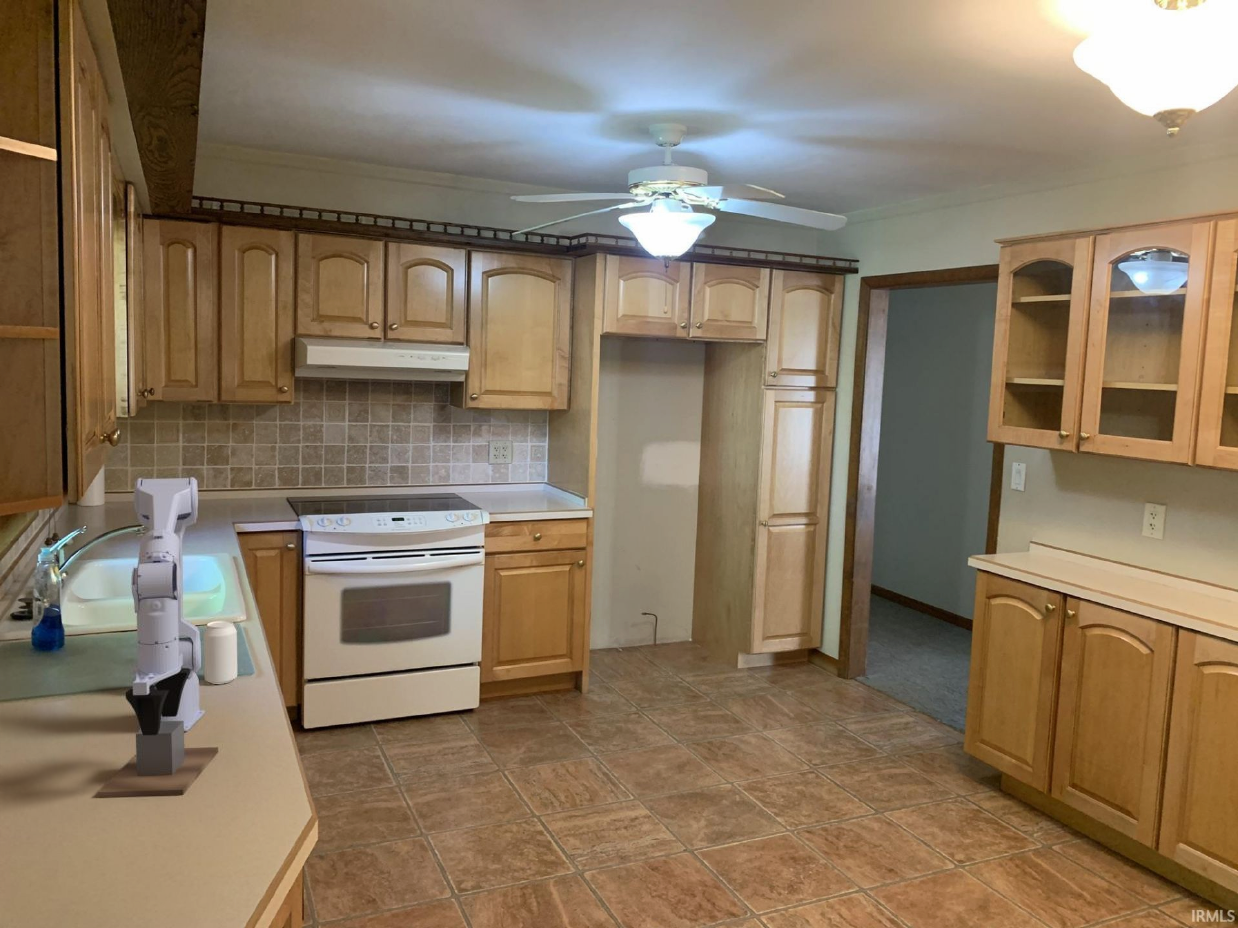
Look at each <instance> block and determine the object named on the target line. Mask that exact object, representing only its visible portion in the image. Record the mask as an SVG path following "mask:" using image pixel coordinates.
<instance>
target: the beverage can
mask: <svg viewBox="0 0 1238 928" xmlns="http://www.w3.org/2000/svg"><path fill="white" fill-rule="evenodd" d="M237 633H238V630H237V629H236V627H235V625H234V622H233V621H231V620H217V621H216V620H215V621H212V622H211V621H210V622H208V623H207V624H206V628H205V630H204V632H203V667H204V668H203V670H204V672H203V673H204V681H206V682H208V683H209V682H211V683H222V682H227V681H231V680H233V679H234V680H235V679H236V678H237V677H238V634H237ZM234 680H233V681H234Z"/></svg>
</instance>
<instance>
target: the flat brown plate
mask: <svg viewBox="0 0 1238 928" xmlns="http://www.w3.org/2000/svg"><path fill="white" fill-rule="evenodd" d="M218 753H219V747H218V746H216V747H215V746H213V747H211V746H210V747H184V755H185V761H184V762H183V764H182V765H181V766H180V767H179V768H178V769H177V770H176V771H175V773H174V774H173V775H150V776H137V760H136V754H135V755H134V756H133V757H132V758H131V759H130V760H129V761H128V762H127V763H126V764H125V765H124V766H123V767H121V769H119V771H118V772H117V773H116V774H115V775H114V776H112V778H111V779H109V780H108V781H107V782H106V784H104V785H103V786H102V788H100V789H99V790H98V791H97V798H115V797H116V798H117V797H118V798H120V797H153V796H154V797H155V796H183V795H184V794H185V793H186V792H187V791H188V789H189V788H190V787H191V786H192V785H193V784H194V782H195V781H196V780H197V779H198V777H199V776H200V775H201V774H202V772H203V771H204V770H205V769H206V767H207V766H208V765H209V764H210V762H211V761H212V760H213V759H214V758H215V756H217V754H218Z"/></svg>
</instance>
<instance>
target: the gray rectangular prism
mask: <svg viewBox="0 0 1238 928" xmlns="http://www.w3.org/2000/svg"><path fill="white" fill-rule="evenodd" d="M184 748H185V731H184V721H161V723H160V729H159V733H158V734H157V735H143V734H142V731H141V730H140V729H139V730H138V731H137V732H136V733H135V751H136V752H135V753H136V754H135V755H136V760H137V776H150V775H173V774H174V773H175V771H176V770H177V769H178V768H179V767H180V766H181V765H182V764H183V762H184V761H185V755H184Z"/></svg>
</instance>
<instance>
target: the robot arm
mask: <svg viewBox="0 0 1238 928" xmlns="http://www.w3.org/2000/svg"><path fill="white" fill-rule="evenodd" d="M133 487H134V488H133V503H134V511H135V512H136V516H137V520H138V521H139V523H140V525H141V526H144V527H147V528H148V529H149V531H148V532H146V533H145V534H144V535H143V536H142V537H141V539H140V545H139V550H138V551H139V552H138V559H137V566H136V567H135V566H134V567H132V572H131V594H132V598H133V603H134V605H133V606H134V608H133V609H134V613H135V614H136V637H137V639H136V641H137V642H136V643H137V665H134V666H132V667H131V668H130V669H129V673H130V674H132V675H133V674H134V675H135V680H134V681H133V682H132V688H129V689H128V690H127V691H126V692H125V699H126V701H127V702H128V703H129V705H130V706H131V707H132V709H133V712H134V713H135V715H136V718H137V722H138V725H139V728H140V729H139V731H140V730H141V731H142V734H143V735H157V734H158V733H159V729H160V723H161V721H184V732H188V731H189V730H190V729H191V728H192V727H193V726H194V724H196V722H198V721H199V720H200V719H201V718H202V716H203V715H205V714H206V710H205V709H200V681H199V677H198V675H197V673H198V671H199V670H200V669H201V667H202V646H201V645H202V644H201V643H202V642H201V633H200V630H199V629H198V628H199V627H198V626H196V625H195V624H193V623H191V622H189V621H188V620H186V619H185V618H184V594H183V593H184V592H183V588H184V587H183V585H184V583H183V582H184V581H183V580H184V579H183V573H184V570H183V568H184V567H183V538H184V535H185V530H186V528H187V527H189V526H191V525H195V524H196V523H197V518H198V507H199V490H198V489H199V488H198V479H196V478H195V477H194V476H193V477H183V478H182V477H180V478H179V477H175V478H174V477H173V478H171V477H170V478H141V477H138V478H137V480H135V481H134V486H133ZM180 636H187V637H180ZM196 672H197V673H196Z"/></svg>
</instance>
